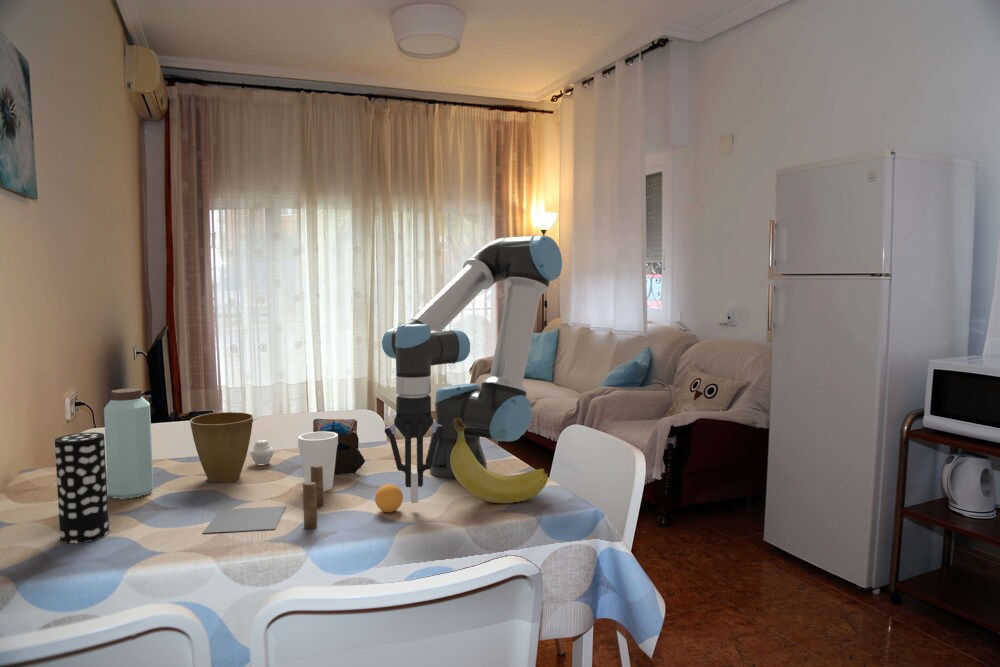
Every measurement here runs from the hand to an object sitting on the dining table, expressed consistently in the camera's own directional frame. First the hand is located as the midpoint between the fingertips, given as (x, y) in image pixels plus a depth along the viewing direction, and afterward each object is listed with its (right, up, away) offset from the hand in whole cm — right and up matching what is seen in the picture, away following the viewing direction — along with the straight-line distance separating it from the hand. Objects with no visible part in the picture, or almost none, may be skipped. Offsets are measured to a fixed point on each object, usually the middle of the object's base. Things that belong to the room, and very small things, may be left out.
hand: (414, 500), depth 148 cm
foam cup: (-25, -1, +17) cm, 30 cm away
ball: (-5, +1, -1) cm, 6 cm away
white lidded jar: (-47, 0, +39) cm, 61 cm away
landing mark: (-35, -3, -5) cm, 36 cm away
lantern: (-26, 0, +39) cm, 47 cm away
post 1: (-20, -3, -9) cm, 22 cm away
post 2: (-22, -2, +4) cm, 23 cm away
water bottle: (-69, -2, +13) cm, 71 cm away
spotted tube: (-64, -4, -14) cm, 66 cm away
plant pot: (-52, -1, +25) cm, 57 cm away
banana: (+19, -2, +6) cm, 20 cm away
